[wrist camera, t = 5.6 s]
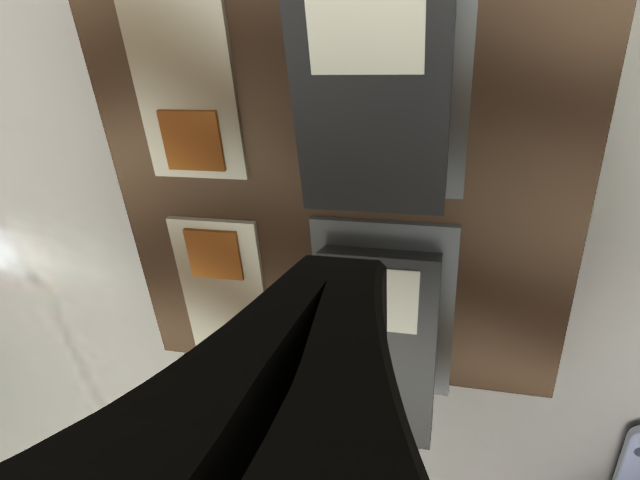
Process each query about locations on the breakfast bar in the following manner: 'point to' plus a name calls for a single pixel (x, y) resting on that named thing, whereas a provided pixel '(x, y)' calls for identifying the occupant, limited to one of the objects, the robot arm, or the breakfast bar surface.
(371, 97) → the switch mid
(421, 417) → the switch
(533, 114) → the switch panel
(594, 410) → the breakfast bar surface
